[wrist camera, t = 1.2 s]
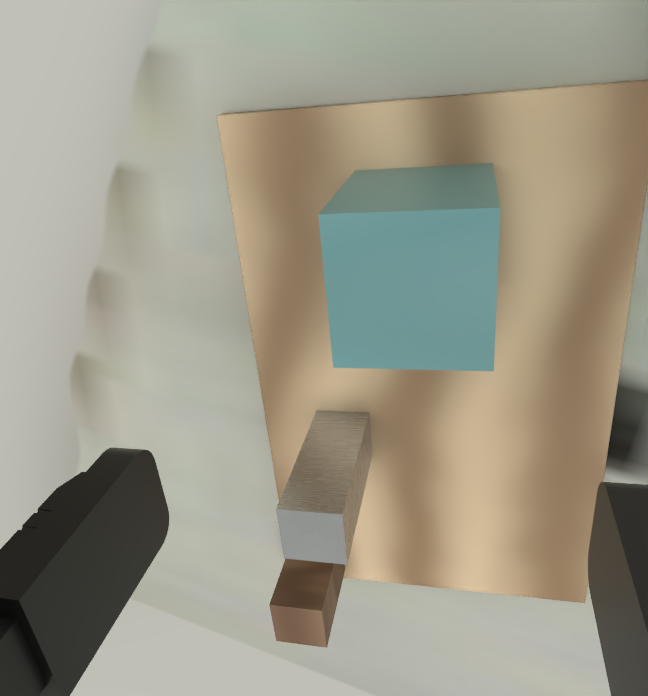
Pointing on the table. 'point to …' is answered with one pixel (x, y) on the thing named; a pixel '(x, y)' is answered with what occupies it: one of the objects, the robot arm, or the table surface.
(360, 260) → the aqua square block
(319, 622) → the walnut post
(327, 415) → the grey post
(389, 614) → the table surface
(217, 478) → the table surface
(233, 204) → the oak board
